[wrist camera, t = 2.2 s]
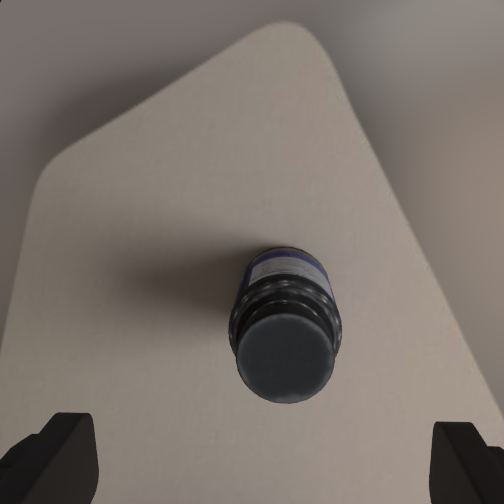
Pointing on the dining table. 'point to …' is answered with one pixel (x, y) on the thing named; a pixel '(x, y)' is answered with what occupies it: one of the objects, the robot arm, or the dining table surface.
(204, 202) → the dining table surface
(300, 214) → the dining table surface
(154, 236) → the dining table surface
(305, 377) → the pill bottle
